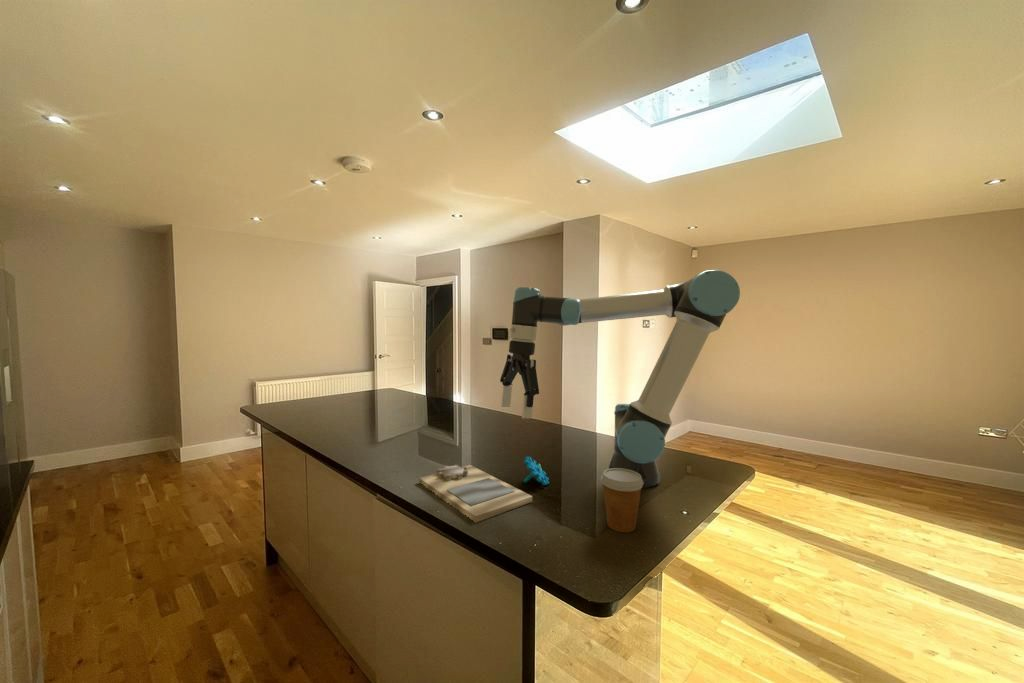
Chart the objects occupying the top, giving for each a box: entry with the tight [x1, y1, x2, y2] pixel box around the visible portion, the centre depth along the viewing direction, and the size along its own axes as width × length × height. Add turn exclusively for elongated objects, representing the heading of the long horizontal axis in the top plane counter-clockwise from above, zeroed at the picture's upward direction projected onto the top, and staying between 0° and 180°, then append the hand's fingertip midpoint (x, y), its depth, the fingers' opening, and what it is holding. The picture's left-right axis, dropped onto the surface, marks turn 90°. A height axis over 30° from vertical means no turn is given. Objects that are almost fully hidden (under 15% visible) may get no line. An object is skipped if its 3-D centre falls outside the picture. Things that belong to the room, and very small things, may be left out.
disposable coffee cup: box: [600, 468, 644, 533], centre depth 88 cm, size 10×10×12 cm
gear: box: [523, 456, 550, 486], centre depth 114 cm, size 11×6×10 cm
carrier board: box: [418, 464, 533, 523], centre depth 106 cm, size 31×18×3 cm, turn 39°
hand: (515, 412), depth 112 cm, fingers open, 13 cm apart
